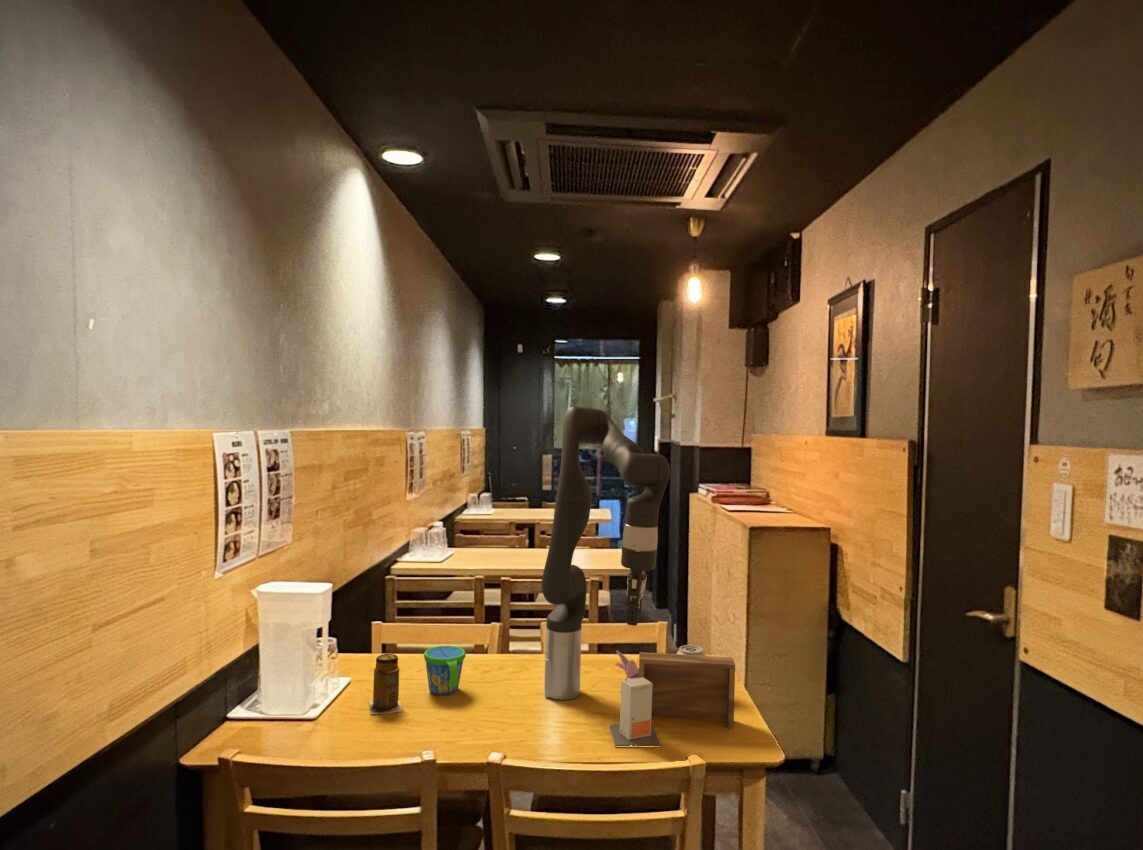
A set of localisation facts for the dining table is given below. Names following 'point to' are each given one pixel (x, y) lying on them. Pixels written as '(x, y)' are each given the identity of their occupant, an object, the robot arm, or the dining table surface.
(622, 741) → the coaster
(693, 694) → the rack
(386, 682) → the condiment
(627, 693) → the skincare box
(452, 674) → the snack cup
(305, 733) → the dining table surface
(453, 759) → the dining table surface
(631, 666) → the lily
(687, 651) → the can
